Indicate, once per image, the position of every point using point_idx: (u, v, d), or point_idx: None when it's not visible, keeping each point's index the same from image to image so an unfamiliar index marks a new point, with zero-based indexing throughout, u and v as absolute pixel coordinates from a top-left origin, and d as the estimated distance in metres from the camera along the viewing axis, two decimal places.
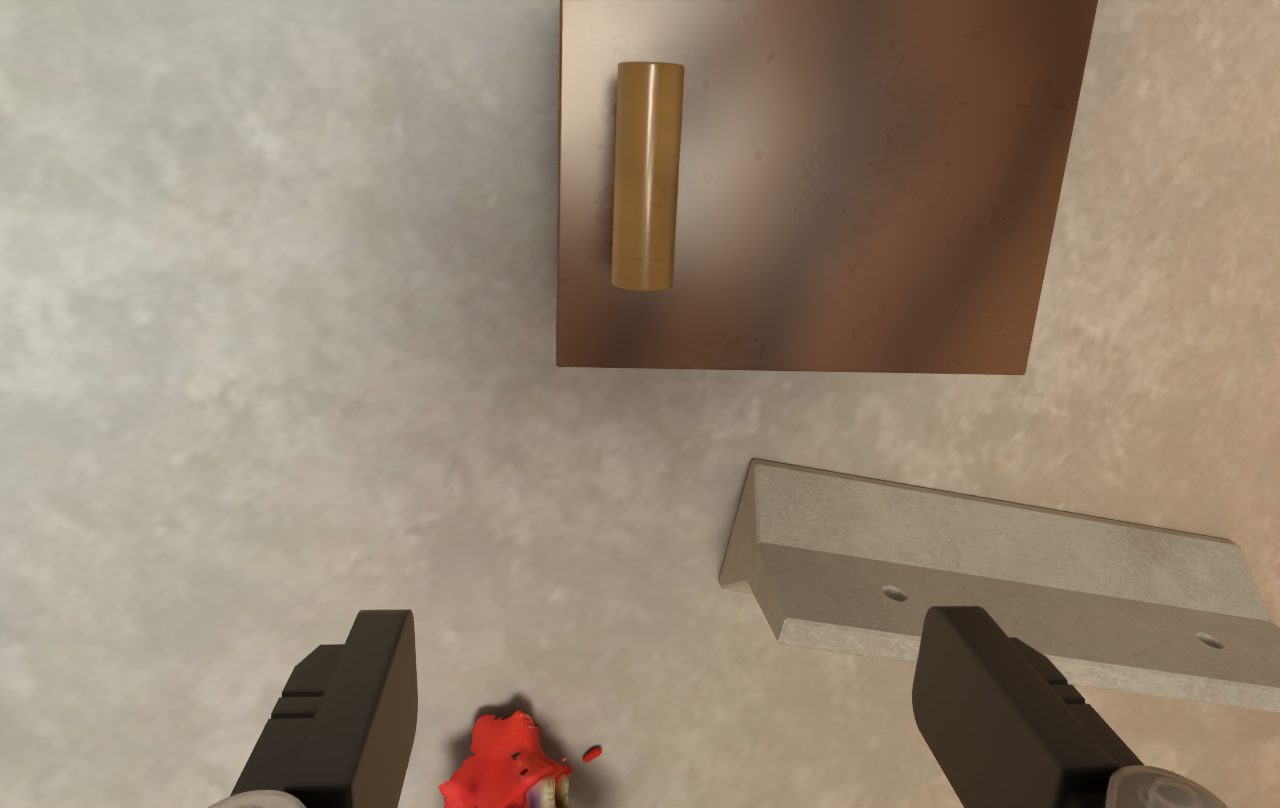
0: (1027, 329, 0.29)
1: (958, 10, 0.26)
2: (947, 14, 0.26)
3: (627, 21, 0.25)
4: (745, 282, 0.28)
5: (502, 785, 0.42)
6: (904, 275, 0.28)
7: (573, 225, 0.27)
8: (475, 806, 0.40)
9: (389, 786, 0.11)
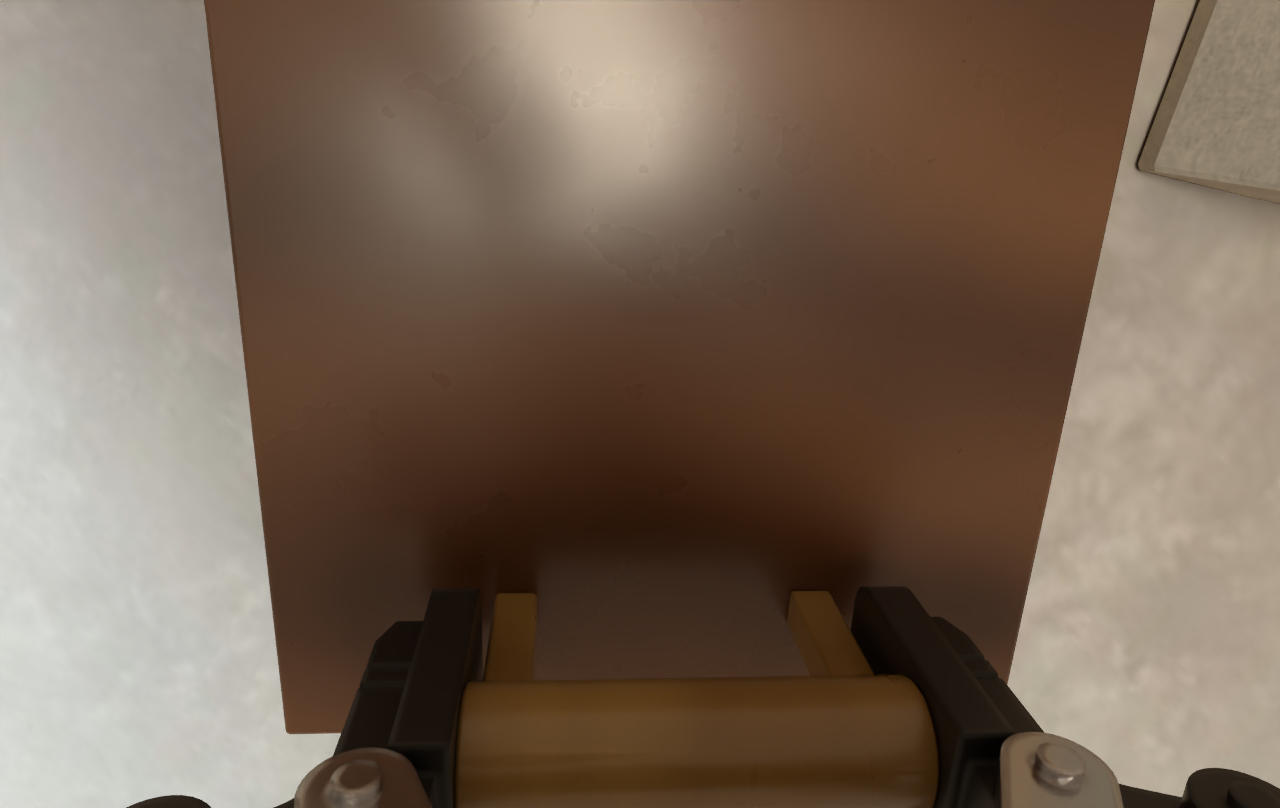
0: None
1: None
2: None
3: None
4: (888, 398, 0.13)
5: None
6: (914, 24, 0.12)
7: None
8: None
9: None
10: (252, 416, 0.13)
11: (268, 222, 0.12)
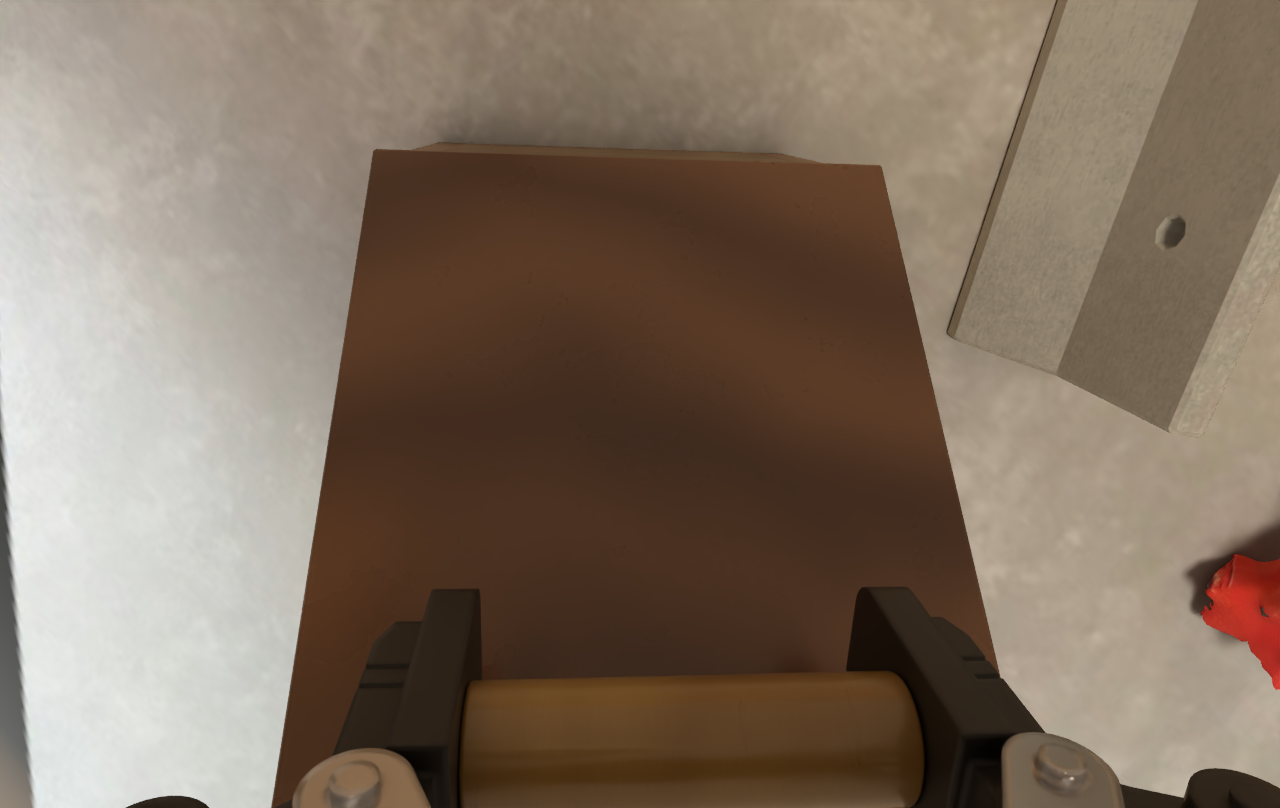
0: (820, 169, 0.21)
1: (407, 297, 0.19)
2: (412, 310, 0.18)
3: None
4: (822, 551, 0.17)
5: None
6: (773, 322, 0.19)
7: None
8: None
9: None
10: (308, 581, 0.15)
11: (356, 440, 0.17)
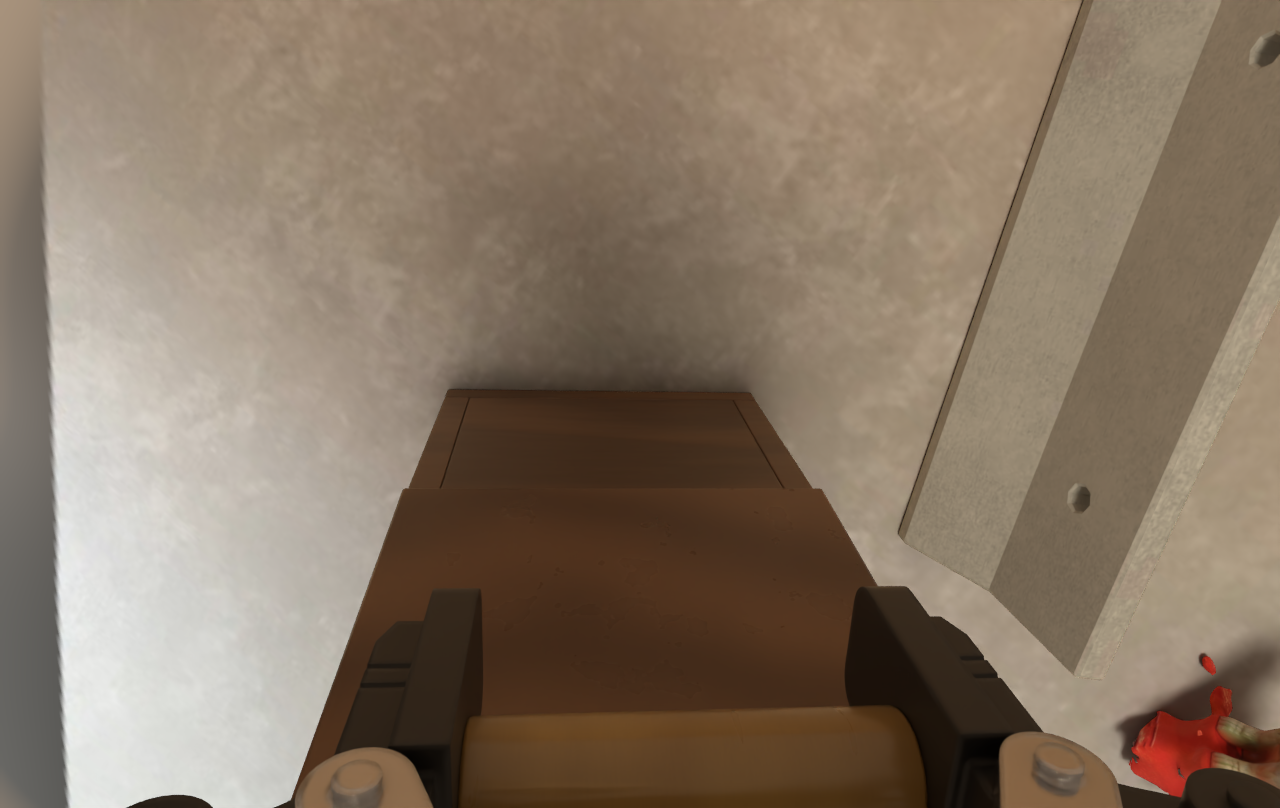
0: (771, 491, 0.26)
1: (422, 573, 0.21)
2: (424, 582, 0.21)
3: None
4: None
5: None
6: (745, 582, 0.21)
7: None
8: None
9: None
10: (298, 782, 0.15)
11: (362, 669, 0.18)
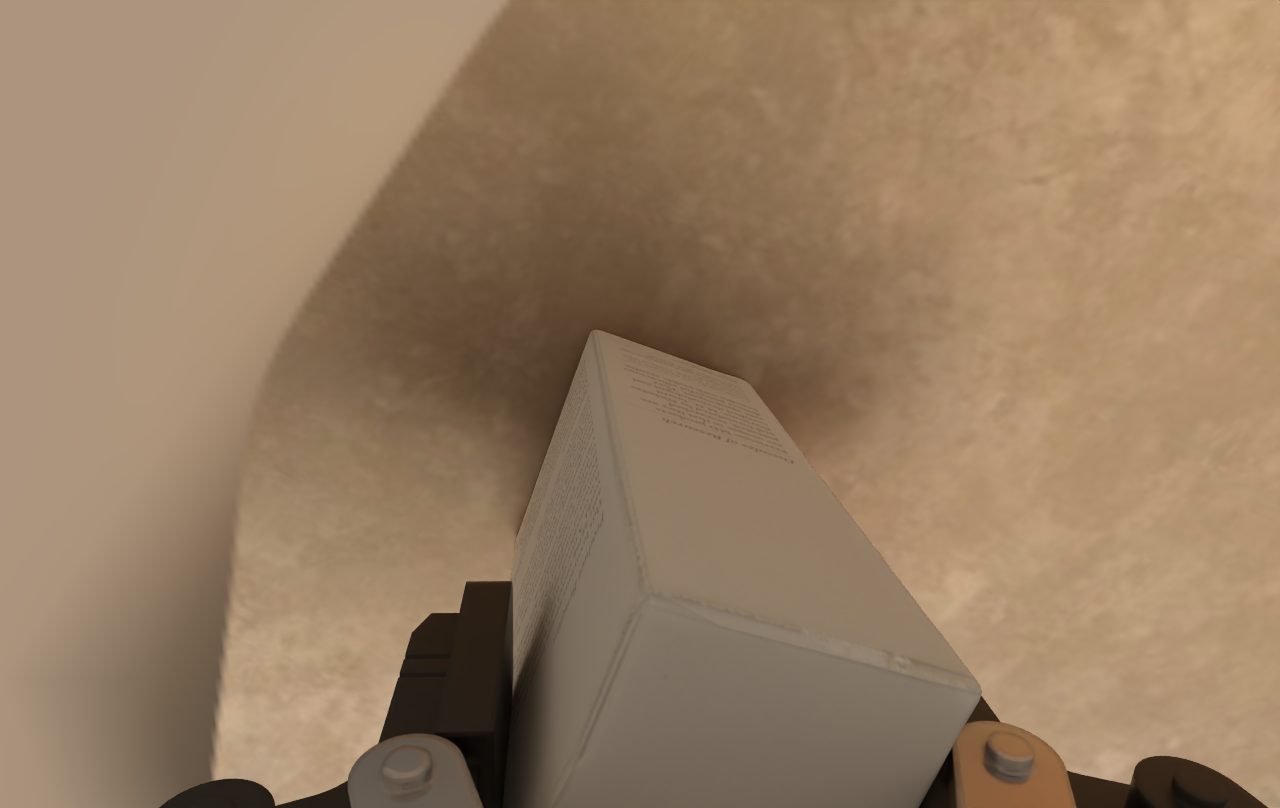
0: None
1: None
2: None
3: None
4: None
5: None
6: None
7: None
8: None
9: (504, 742, 0.12)
10: None
11: None
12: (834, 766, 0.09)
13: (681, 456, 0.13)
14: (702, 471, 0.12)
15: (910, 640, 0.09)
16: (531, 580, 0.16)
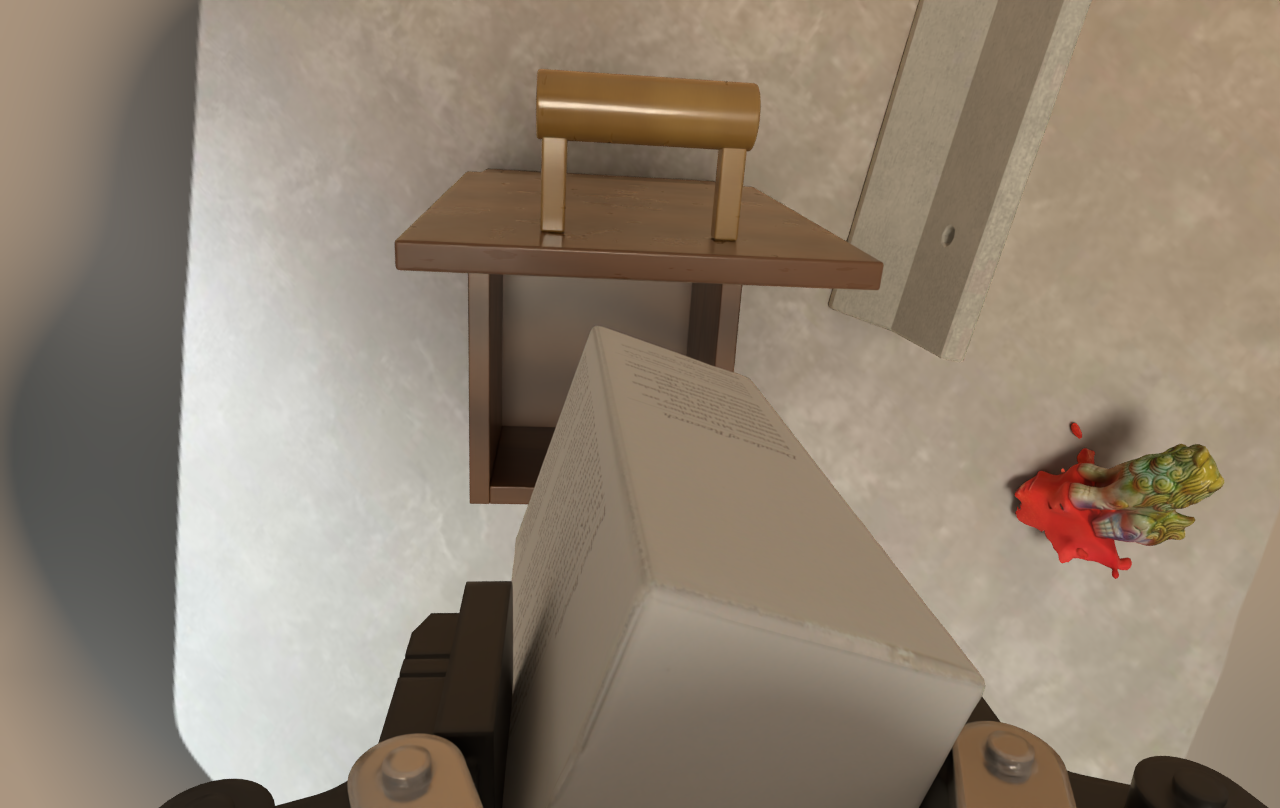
0: None
1: (486, 184, 0.33)
2: (488, 186, 0.32)
3: (484, 230, 0.23)
4: None
5: (1071, 520, 0.53)
6: (695, 197, 0.33)
7: (708, 251, 0.23)
8: (1077, 549, 0.51)
9: (504, 742, 0.12)
10: (430, 208, 0.27)
11: (457, 195, 0.29)
12: (836, 760, 0.09)
13: (683, 451, 0.13)
14: (704, 465, 0.12)
15: (914, 633, 0.09)
16: (532, 576, 0.16)
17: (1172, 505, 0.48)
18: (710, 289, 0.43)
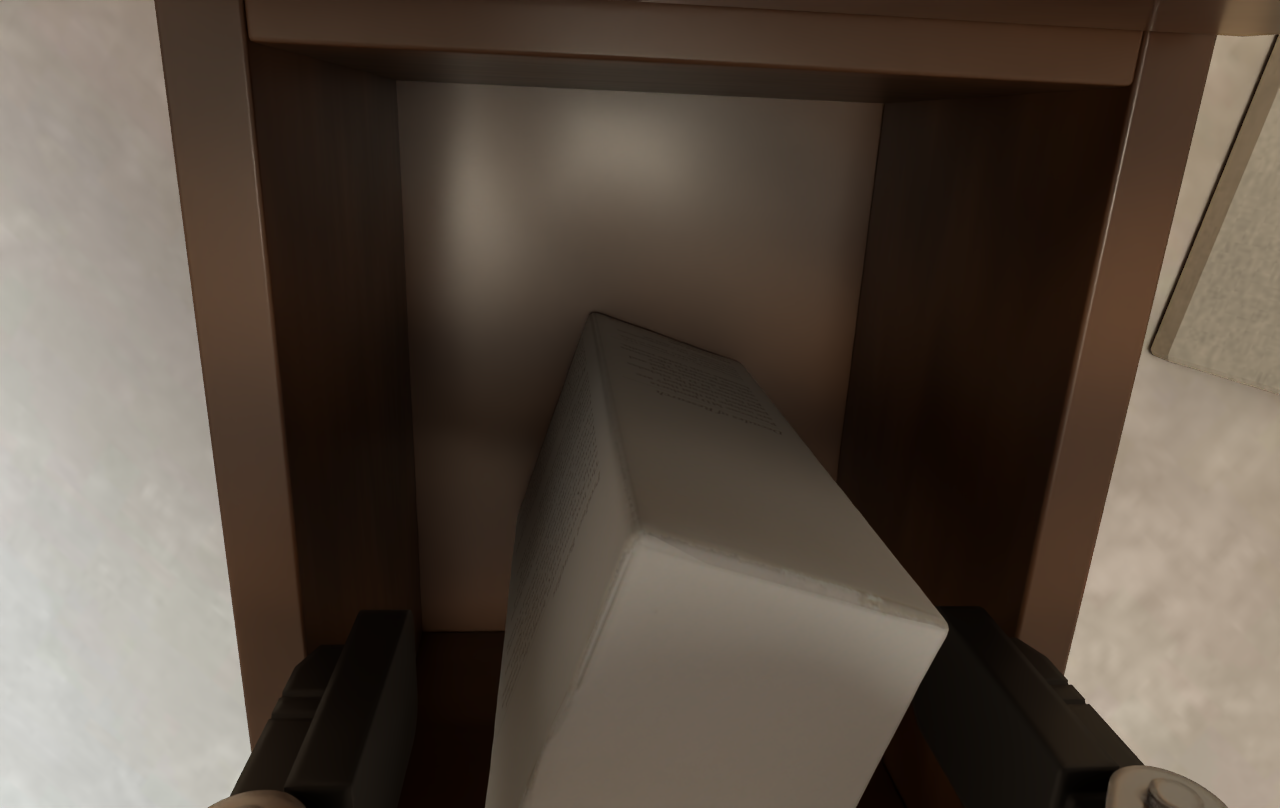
0: None
1: None
2: None
3: None
4: None
5: None
6: None
7: None
8: None
9: (389, 786, 0.11)
10: None
11: None
12: (811, 698, 0.10)
13: (673, 423, 0.13)
14: (693, 437, 0.13)
15: (883, 583, 0.10)
16: (532, 548, 0.16)
17: None
18: (976, 336, 0.15)
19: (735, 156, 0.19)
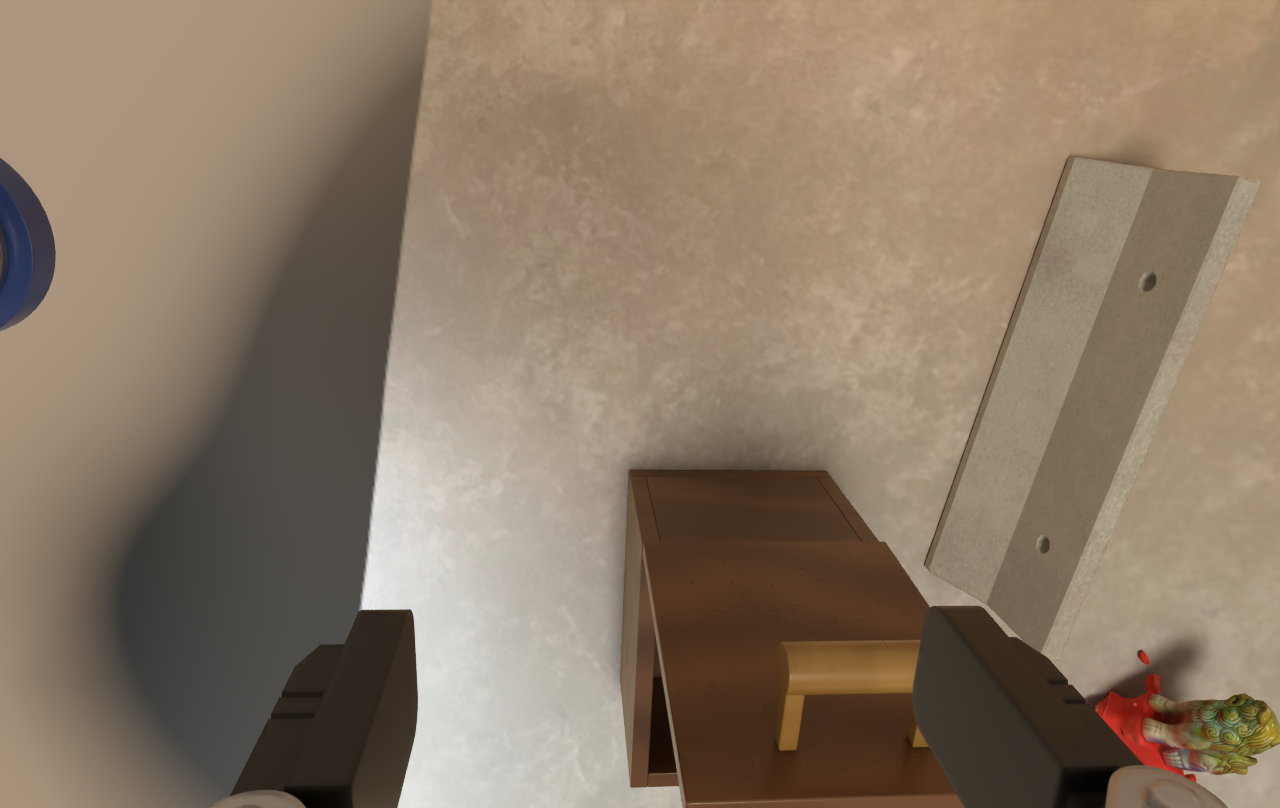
0: (856, 543, 0.44)
1: (678, 590, 0.39)
2: (681, 595, 0.39)
3: (736, 755, 0.30)
4: None
5: (1142, 748, 0.59)
6: (852, 595, 0.39)
7: (918, 784, 0.29)
8: None
9: (389, 786, 0.11)
10: (667, 684, 0.33)
11: (672, 637, 0.36)
12: None
13: None
14: None
15: None
16: None
17: (1238, 753, 0.54)
18: None
19: None
